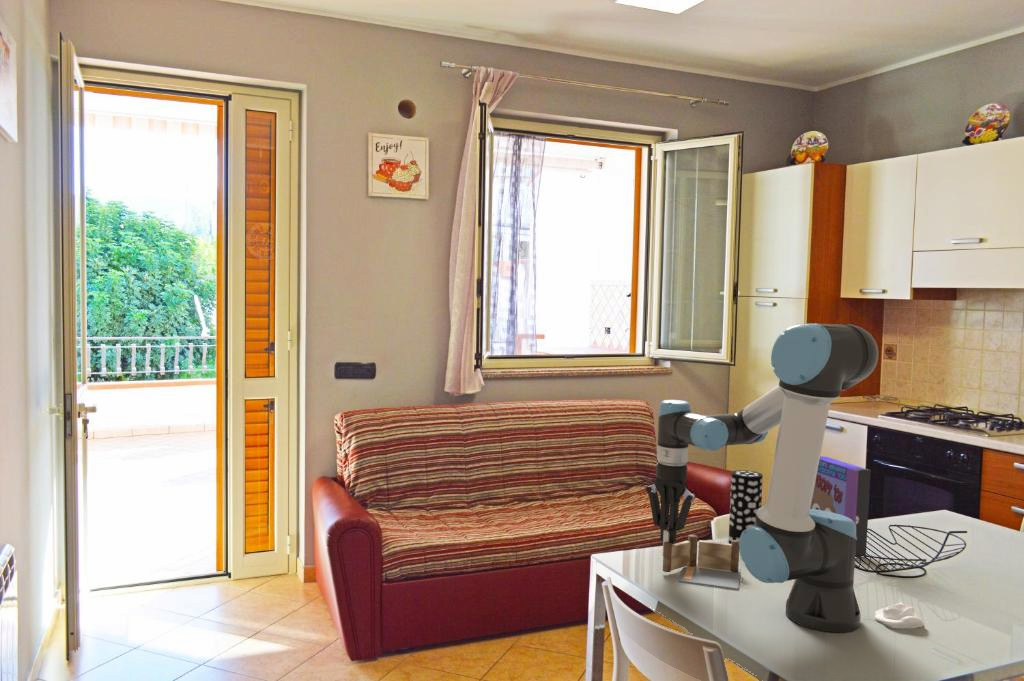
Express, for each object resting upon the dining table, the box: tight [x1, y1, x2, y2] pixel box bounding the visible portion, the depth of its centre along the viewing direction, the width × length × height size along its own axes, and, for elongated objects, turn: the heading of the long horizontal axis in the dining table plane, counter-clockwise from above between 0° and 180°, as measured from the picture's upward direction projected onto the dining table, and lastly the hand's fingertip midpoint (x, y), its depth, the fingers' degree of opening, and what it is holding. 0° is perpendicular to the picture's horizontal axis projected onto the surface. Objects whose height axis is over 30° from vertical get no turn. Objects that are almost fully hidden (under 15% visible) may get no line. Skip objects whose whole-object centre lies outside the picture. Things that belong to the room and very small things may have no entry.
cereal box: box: [810, 455, 872, 558], centre depth 221 cm, size 17×5×24 cm, turn 17°
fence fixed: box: [687, 534, 740, 572], centre depth 200 cm, size 13×2×8 cm, turn 72°
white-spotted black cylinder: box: [728, 469, 764, 544], centre depth 222 cm, size 8×8×20 cm
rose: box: [874, 601, 925, 629], centre depth 171 cm, size 10×4×10 cm
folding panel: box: [662, 540, 691, 573], centre depth 198 cm, size 9×2×7 cm, turn 129°
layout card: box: [677, 563, 742, 591], centre depth 196 cm, size 14×14×1 cm
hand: (667, 555), depth 198 cm, fingers closed
